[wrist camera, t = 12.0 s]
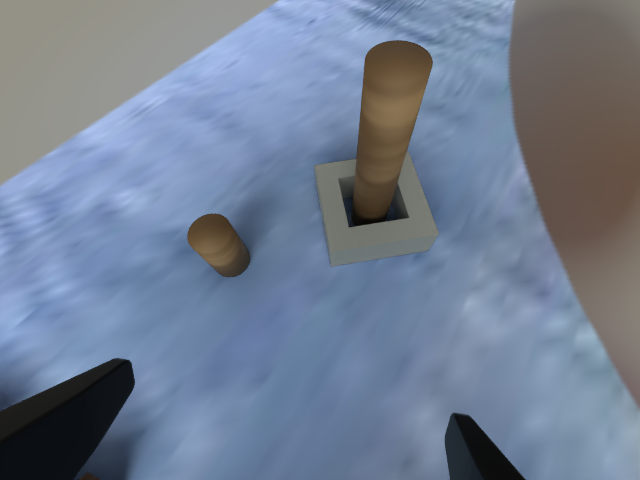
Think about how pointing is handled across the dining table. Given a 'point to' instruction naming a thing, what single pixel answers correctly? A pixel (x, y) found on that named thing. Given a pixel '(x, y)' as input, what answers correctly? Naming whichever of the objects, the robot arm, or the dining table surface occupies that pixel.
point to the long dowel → (386, 124)
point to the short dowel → (219, 245)
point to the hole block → (379, 238)
